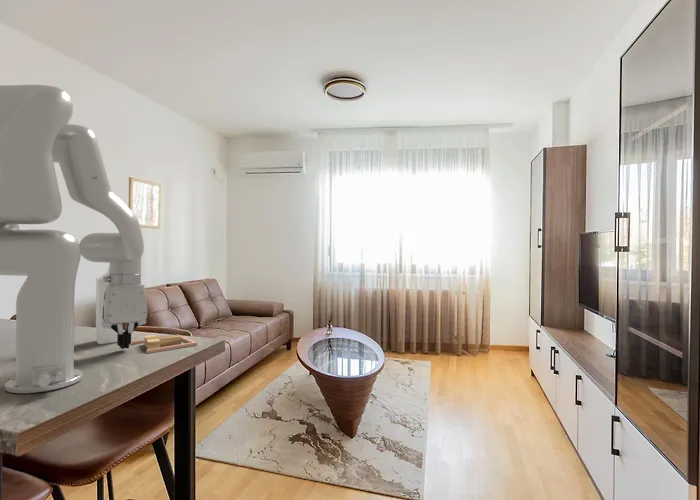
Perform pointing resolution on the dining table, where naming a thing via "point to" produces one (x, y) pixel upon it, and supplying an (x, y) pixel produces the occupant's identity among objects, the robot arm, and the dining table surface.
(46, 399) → the dining table surface
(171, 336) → the t block
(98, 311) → the milk
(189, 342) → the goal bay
